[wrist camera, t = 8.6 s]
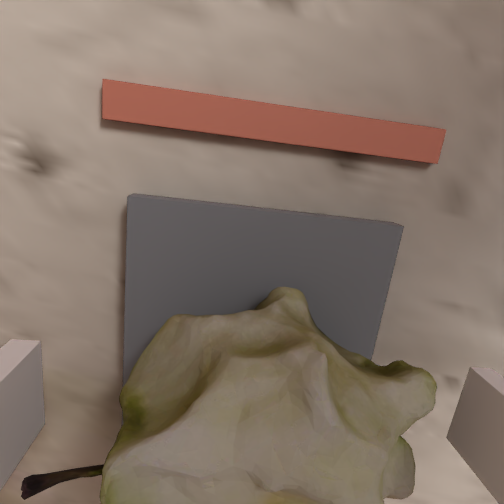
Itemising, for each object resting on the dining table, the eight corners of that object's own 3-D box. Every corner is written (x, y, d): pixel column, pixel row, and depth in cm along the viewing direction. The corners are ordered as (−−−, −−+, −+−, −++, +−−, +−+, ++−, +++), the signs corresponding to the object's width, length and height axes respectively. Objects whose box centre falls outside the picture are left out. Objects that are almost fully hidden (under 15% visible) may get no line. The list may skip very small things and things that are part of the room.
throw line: (105, 80, 11) (102, 78, 11) (441, 130, 12) (446, 129, 12) (105, 119, 11) (102, 118, 11) (432, 163, 13) (437, 163, 13)
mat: (133, 193, 12) (118, 199, 10) (393, 222, 13) (418, 232, 12) (125, 458, 15) (113, 496, 14) (336, 462, 16) (349, 498, 15)
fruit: (109, 404, 14) (-81, 580, 6) (248, 234, 14) (234, 197, 6) (278, 548, 14) (302, 934, 6) (418, 373, 14) (628, 516, 6)
